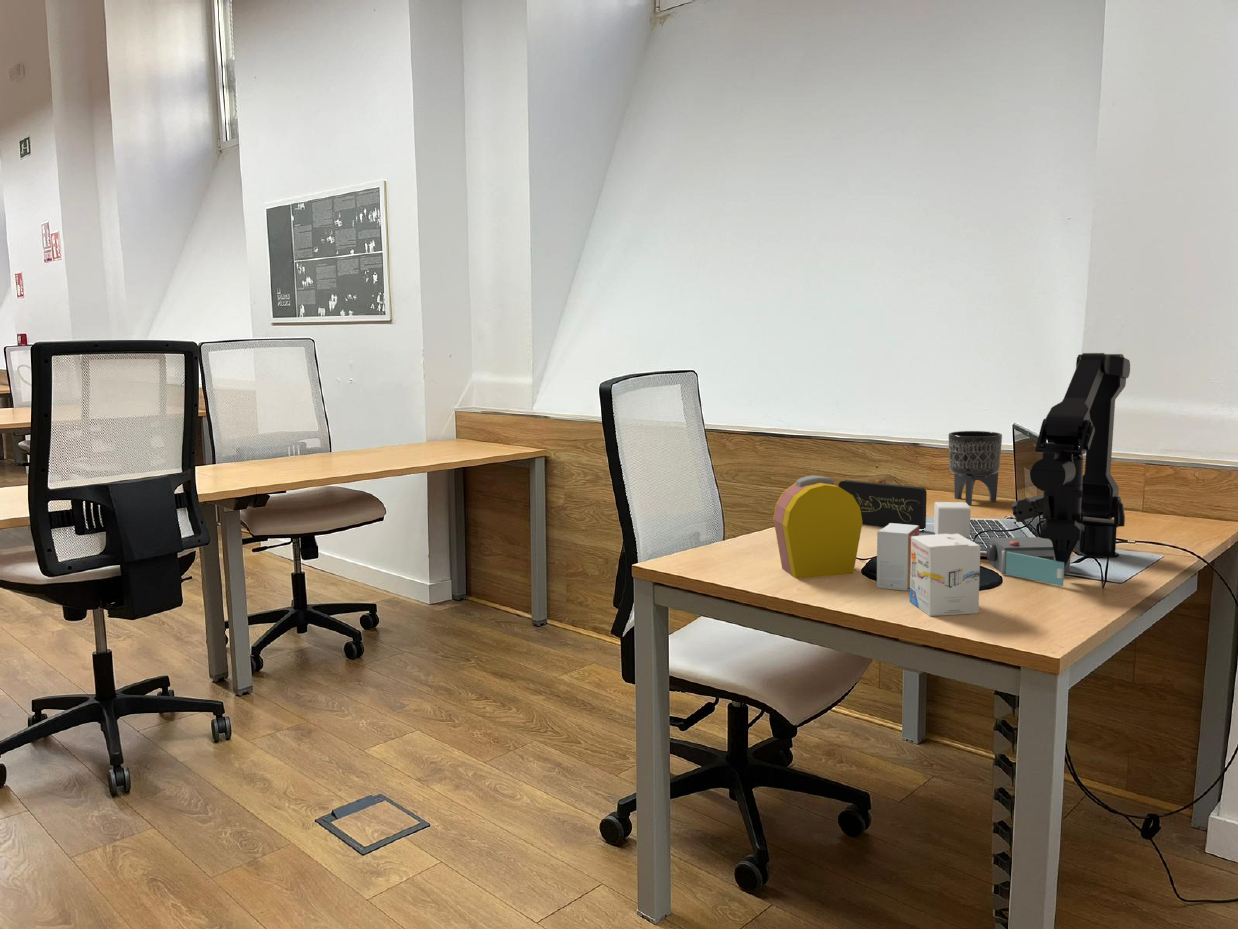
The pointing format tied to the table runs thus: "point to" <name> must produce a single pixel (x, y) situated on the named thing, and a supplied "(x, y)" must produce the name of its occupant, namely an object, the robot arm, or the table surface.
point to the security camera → (952, 518)
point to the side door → (1033, 568)
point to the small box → (895, 556)
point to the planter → (974, 461)
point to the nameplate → (888, 503)
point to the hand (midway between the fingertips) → (1060, 568)
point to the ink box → (945, 574)
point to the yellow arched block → (817, 528)
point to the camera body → (1021, 549)
